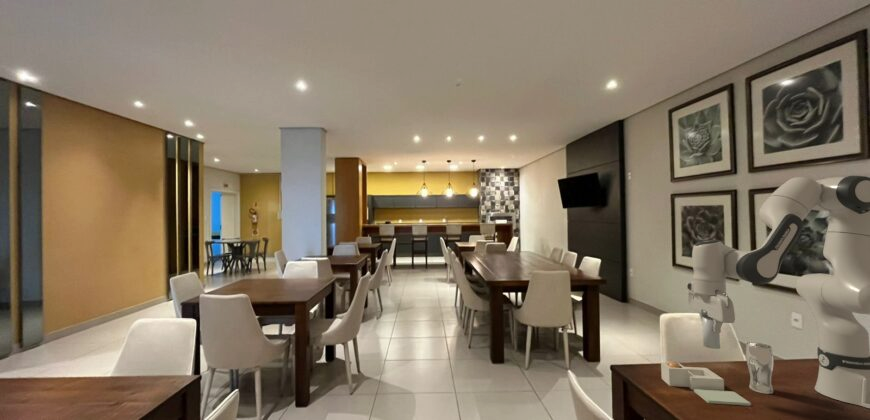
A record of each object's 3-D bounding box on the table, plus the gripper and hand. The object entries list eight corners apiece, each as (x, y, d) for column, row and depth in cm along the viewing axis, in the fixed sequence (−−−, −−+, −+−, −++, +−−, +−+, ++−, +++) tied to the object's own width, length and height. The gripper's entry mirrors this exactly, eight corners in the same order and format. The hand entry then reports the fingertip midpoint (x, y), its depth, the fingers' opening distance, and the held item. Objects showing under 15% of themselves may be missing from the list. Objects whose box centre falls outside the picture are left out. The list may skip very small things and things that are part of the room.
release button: (677, 373, 129) (676, 362, 129) (681, 376, 126) (681, 365, 126) (667, 372, 129) (666, 361, 130) (671, 376, 126) (671, 364, 126)
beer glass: (780, 395, 117) (778, 349, 118) (756, 393, 119) (753, 347, 119) (765, 386, 124) (763, 342, 125) (742, 384, 125) (740, 341, 126)
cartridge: (715, 344, 122) (714, 309, 122) (724, 349, 117) (723, 312, 117) (699, 343, 123) (697, 308, 123) (707, 348, 118) (706, 312, 118)
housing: (706, 379, 130) (705, 362, 131) (724, 391, 120) (723, 373, 121) (659, 376, 133) (658, 360, 133) (672, 388, 123) (671, 370, 123)
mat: (733, 393, 119) (733, 391, 119) (751, 405, 111) (750, 403, 111) (694, 391, 121) (694, 389, 121) (708, 403, 113) (708, 400, 113)
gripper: (740, 294, 110) (742, 339, 109) (702, 283, 130) (704, 322, 129) (717, 293, 111) (719, 338, 110) (683, 283, 131) (685, 321, 130)
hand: (711, 329), depth 120 cm, fingers closed on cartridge, 4 cm apart
